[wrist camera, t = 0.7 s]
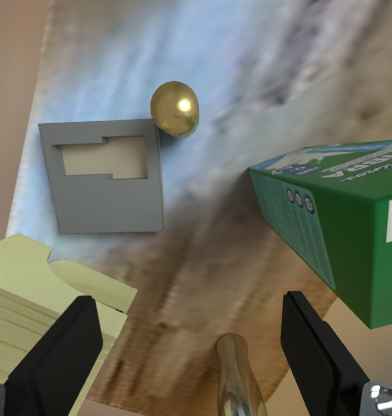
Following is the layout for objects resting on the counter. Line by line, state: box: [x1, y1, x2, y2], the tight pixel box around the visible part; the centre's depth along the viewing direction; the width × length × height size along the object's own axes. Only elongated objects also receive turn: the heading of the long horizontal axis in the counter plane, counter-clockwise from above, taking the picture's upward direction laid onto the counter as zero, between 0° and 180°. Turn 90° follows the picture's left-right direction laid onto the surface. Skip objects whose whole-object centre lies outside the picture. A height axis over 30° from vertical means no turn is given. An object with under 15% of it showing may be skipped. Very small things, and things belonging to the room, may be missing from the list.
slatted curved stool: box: [0, 233, 138, 416], centre depth 31 cm, size 30×16×18 cm, turn 153°
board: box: [38, 119, 166, 234], centre depth 32 cm, size 16×16×3 cm
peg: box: [150, 81, 199, 138], centre depth 27 cm, size 5×5×9 cm
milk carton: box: [248, 140, 392, 329], centre depth 21 cm, size 9×9×25 cm
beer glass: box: [216, 334, 268, 416], centre depth 34 cm, size 7×7×15 cm
